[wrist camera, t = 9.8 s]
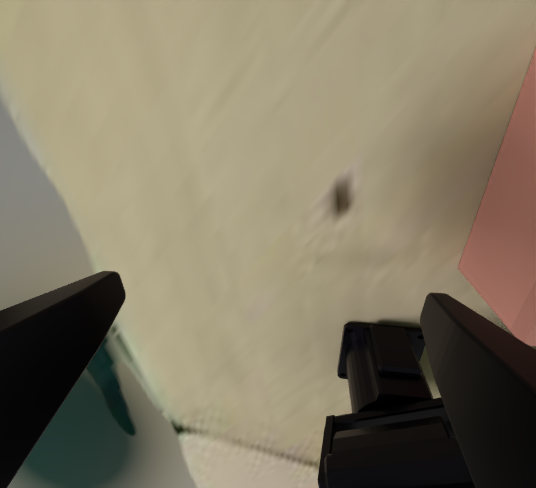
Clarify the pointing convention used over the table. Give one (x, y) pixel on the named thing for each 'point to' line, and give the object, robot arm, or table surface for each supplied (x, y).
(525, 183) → the coin box
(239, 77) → the table surface
